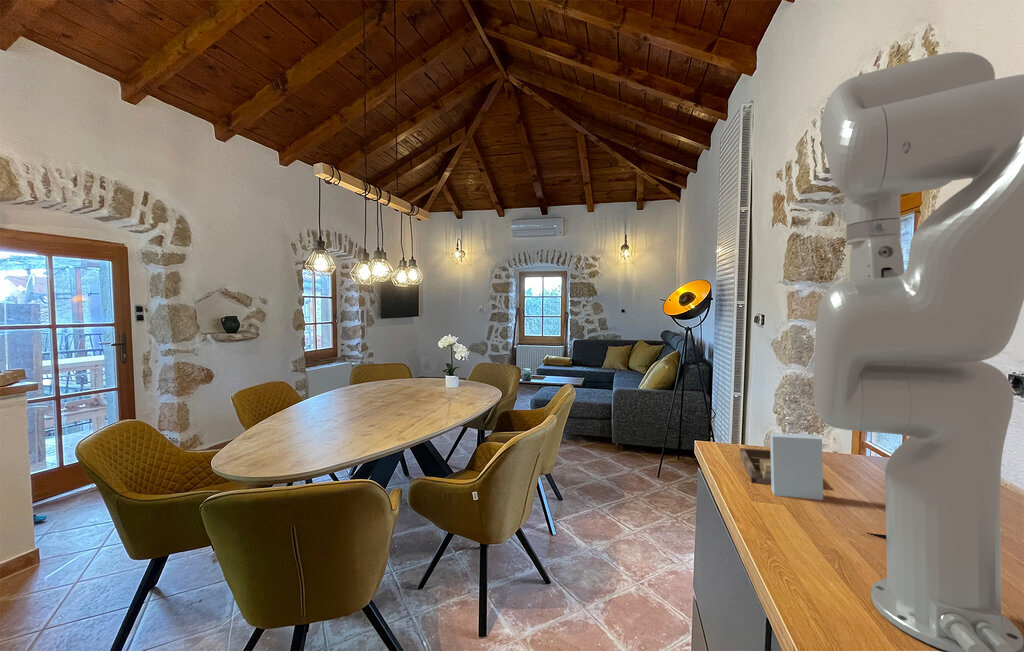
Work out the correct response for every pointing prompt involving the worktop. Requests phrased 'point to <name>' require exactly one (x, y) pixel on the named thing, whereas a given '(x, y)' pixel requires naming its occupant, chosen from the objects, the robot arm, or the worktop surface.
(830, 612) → the worktop surface
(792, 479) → the board
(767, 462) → the offcut top
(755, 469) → the rack
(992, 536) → the robot arm
